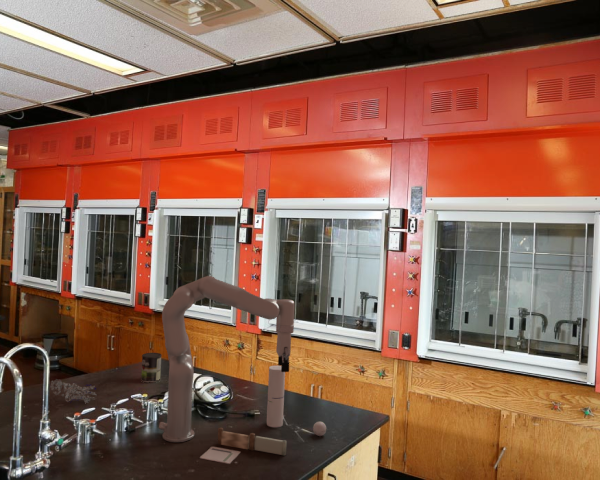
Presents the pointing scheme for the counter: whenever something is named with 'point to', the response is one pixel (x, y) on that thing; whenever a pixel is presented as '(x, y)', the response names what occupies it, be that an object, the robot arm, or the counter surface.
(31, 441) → the counter surface
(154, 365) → the coffee can
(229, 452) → the card
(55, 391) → the dark piece
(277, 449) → the cream flat slab
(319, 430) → the pinkish brown egg
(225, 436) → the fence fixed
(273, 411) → the cylindrical container
